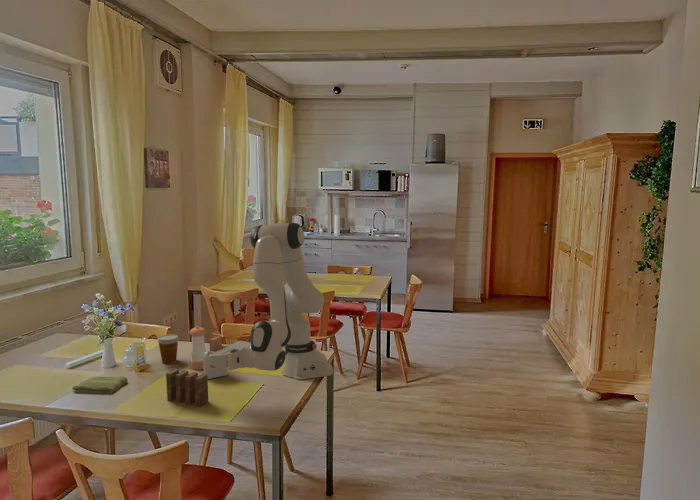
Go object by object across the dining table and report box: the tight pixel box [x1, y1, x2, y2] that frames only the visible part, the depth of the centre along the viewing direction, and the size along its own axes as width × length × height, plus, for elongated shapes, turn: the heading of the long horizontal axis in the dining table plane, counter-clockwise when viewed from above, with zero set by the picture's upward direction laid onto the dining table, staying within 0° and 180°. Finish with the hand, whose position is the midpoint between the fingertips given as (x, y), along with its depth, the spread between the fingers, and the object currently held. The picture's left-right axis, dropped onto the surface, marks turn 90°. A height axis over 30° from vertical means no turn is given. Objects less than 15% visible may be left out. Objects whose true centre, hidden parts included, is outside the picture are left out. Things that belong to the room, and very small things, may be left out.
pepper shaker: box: [189, 325, 207, 371], centre depth 226 cm, size 7×7×19 cm
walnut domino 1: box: [165, 368, 180, 402], centre depth 193 cm, size 2×5×11 cm, turn 159°
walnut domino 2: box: [175, 370, 190, 404], centre depth 191 cm, size 2×5×11 cm, turn 158°
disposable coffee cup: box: [157, 333, 180, 365], centre depth 233 cm, size 10×10×12 cm
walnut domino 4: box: [195, 373, 209, 408], centre depth 188 cm, size 2×5×11 cm, turn 158°
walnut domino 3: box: [185, 371, 199, 406], centre depth 189 cm, size 2×5×11 cm, turn 159°
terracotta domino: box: [209, 335, 223, 368], centre depth 191 cm, size 2×5×11 cm, turn 158°
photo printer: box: [203, 349, 228, 380], centre depth 215 cm, size 10×4×12 cm, turn 123°
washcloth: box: [71, 375, 128, 394], centre depth 204 cm, size 13×18×3 cm
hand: (214, 350), depth 191 cm, fingers closed on terracotta domino, 5 cm apart
